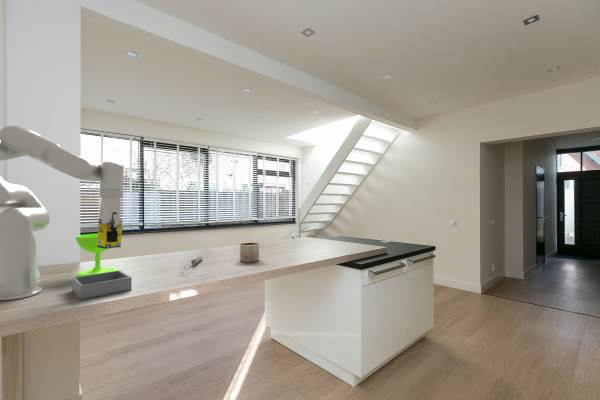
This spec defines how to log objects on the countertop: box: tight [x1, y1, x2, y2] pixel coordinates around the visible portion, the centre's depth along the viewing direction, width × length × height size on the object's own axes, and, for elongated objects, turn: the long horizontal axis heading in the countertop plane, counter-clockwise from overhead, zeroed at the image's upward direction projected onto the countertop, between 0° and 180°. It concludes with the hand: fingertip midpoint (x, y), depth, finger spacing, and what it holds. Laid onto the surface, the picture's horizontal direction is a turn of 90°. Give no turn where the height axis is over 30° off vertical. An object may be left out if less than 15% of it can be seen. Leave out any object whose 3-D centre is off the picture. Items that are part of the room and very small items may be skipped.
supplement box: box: [97, 218, 123, 249], centre depth 111 cm, size 6×6×11 cm
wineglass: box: [75, 233, 119, 277], centre depth 134 cm, size 16×16×18 cm
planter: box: [239, 241, 260, 263], centre depth 163 cm, size 11×11×10 cm
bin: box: [71, 269, 132, 301], centre depth 109 cm, size 16×16×5 cm
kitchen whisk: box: [179, 255, 203, 274], centre depth 149 cm, size 6×34×6 cm, turn 7°
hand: (109, 240), depth 111 cm, fingers closed on supplement box, 6 cm apart
